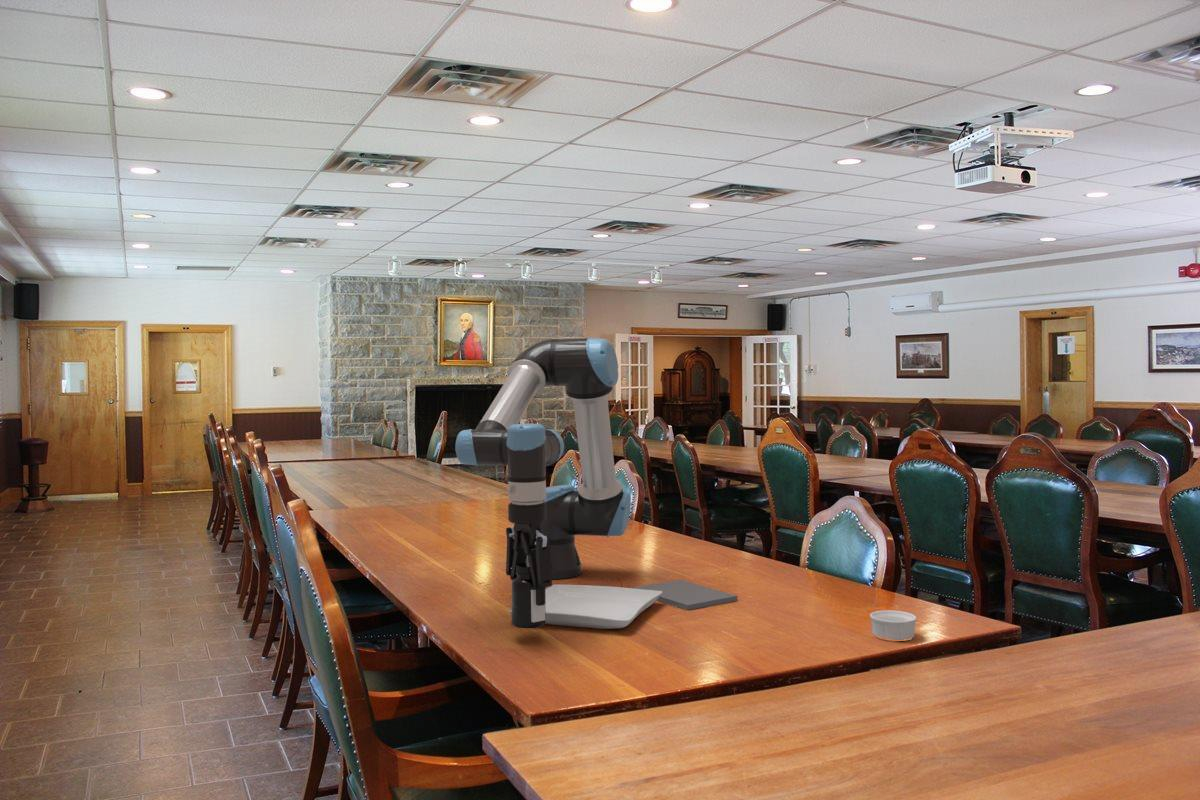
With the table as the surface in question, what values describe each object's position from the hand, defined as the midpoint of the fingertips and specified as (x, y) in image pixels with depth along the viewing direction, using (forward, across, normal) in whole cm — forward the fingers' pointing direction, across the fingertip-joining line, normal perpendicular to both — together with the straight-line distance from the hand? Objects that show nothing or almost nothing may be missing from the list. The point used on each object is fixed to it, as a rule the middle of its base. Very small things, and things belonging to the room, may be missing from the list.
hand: (528, 616), depth 182 cm
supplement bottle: (+2, 0, 0) cm, 2 cm away
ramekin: (+5, +40, +61) cm, 73 cm away
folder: (+5, -10, +48) cm, 49 cm away
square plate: (+6, -10, +21) cm, 24 cm away
